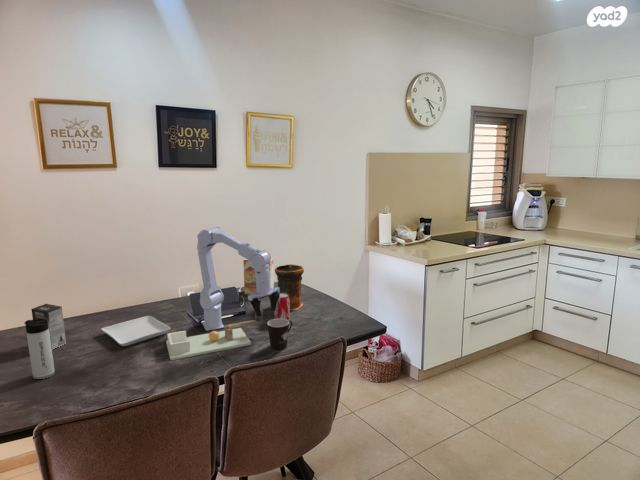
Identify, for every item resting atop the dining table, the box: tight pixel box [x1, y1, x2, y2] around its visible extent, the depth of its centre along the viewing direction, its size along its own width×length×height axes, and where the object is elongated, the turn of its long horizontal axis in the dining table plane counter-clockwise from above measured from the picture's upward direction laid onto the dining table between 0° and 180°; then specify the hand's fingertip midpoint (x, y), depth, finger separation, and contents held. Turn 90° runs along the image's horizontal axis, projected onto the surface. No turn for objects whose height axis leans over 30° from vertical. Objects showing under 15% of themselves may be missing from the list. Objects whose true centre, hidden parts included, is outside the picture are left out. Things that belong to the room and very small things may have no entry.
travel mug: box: [24, 318, 55, 380], centre depth 140 cm, size 6×7×20 cm
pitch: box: [165, 327, 252, 361], centre depth 166 cm, size 16×30×1 cm, turn 115°
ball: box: [209, 330, 219, 341], centre depth 167 cm, size 4×4×4 cm
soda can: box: [273, 293, 291, 321], centre depth 190 cm, size 7×7×12 cm
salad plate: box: [100, 315, 171, 347], centre depth 175 cm, size 21×21×3 cm
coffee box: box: [31, 303, 67, 351], centre depth 163 cm, size 9×6×16 cm
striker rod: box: [224, 308, 264, 340], centre depth 171 cm, size 5×16×10 cm, turn 115°
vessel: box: [274, 263, 305, 311], centre depth 207 cm, size 14×14×20 cm
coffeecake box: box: [243, 257, 275, 295], centre depth 227 cm, size 15×7×20 cm, turn 80°
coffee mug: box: [266, 318, 293, 351], centre depth 164 cm, size 12×9×10 cm
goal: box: [166, 330, 190, 355], centre depth 161 cm, size 11×7×4 cm, turn 25°
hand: (265, 312), depth 171 cm, fingers open, 7 cm apart
